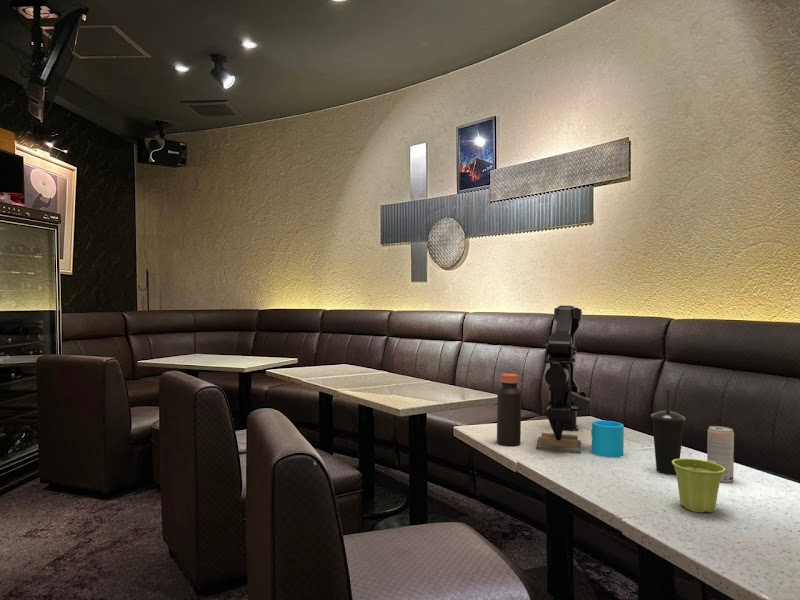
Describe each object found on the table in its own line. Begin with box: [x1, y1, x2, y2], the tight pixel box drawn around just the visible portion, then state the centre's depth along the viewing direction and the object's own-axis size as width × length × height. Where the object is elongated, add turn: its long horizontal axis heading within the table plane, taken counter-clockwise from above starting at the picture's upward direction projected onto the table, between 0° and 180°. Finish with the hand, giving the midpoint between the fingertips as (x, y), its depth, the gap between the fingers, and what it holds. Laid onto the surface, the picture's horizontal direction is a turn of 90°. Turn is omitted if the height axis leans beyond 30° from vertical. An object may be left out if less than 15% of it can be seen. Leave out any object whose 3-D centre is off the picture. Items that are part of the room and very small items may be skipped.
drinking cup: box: [650, 389, 686, 476], centre depth 133 cm, size 8×8×20 cm
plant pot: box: [672, 458, 725, 513], centre depth 109 cm, size 9×9×9 cm
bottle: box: [496, 373, 522, 447], centre depth 157 cm, size 7×7×20 cm
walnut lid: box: [540, 432, 579, 448], centre depth 155 cm, size 6×10×2 cm, turn 71°
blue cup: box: [590, 420, 625, 458], centre depth 150 cm, size 12×8×8 cm
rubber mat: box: [535, 436, 582, 455], centre depth 155 cm, size 12×12×1 cm
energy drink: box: [706, 425, 735, 484], centre depth 127 cm, size 5×5×12 cm
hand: (558, 437), depth 155 cm, fingers open, 7 cm apart
